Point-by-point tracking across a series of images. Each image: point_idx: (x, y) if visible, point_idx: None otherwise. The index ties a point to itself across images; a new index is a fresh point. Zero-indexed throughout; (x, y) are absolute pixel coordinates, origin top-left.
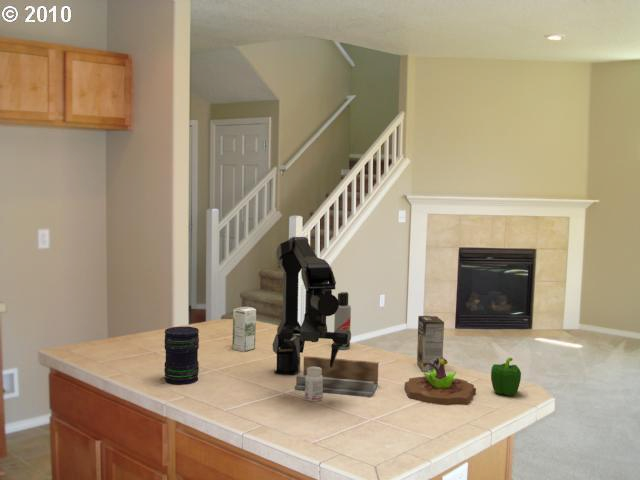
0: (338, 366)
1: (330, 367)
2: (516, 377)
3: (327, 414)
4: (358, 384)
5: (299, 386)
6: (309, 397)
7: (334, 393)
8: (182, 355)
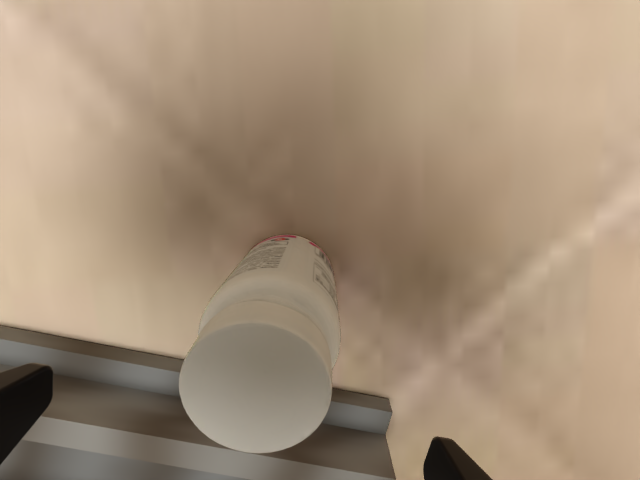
0: None
1: (49, 366)
2: None
3: (193, 15)
4: None
5: (367, 414)
6: (308, 243)
7: None
8: None
